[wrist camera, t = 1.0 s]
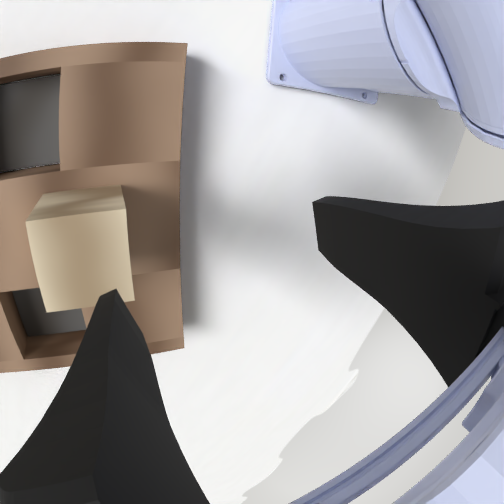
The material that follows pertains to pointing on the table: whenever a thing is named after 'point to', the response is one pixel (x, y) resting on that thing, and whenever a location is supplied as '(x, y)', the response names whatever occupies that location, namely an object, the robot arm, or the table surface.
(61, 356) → the box
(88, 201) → the maple block
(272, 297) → the table surface
